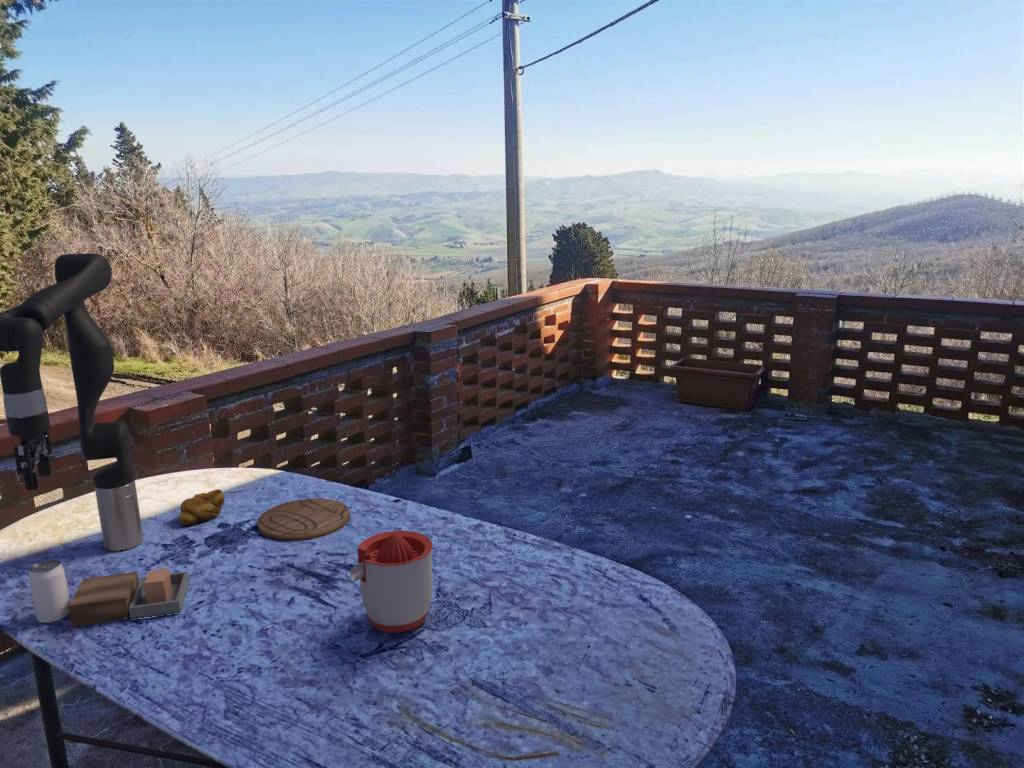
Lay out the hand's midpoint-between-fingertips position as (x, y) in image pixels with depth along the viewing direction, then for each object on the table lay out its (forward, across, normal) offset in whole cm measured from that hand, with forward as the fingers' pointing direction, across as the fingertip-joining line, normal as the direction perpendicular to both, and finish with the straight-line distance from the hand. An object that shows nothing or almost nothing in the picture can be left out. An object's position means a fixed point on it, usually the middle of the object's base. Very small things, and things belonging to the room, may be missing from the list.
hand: (39, 482), depth 160 cm
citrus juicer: (+28, +31, +72) cm, 83 cm away
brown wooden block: (+28, +8, +12) cm, 31 cm away
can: (+28, +8, +1) cm, 29 cm away
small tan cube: (+24, +8, +20) cm, 33 cm away
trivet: (+29, -27, +54) cm, 67 cm away
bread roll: (+28, -38, +25) cm, 53 cm away
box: (+28, +8, +22) cm, 37 cm away
